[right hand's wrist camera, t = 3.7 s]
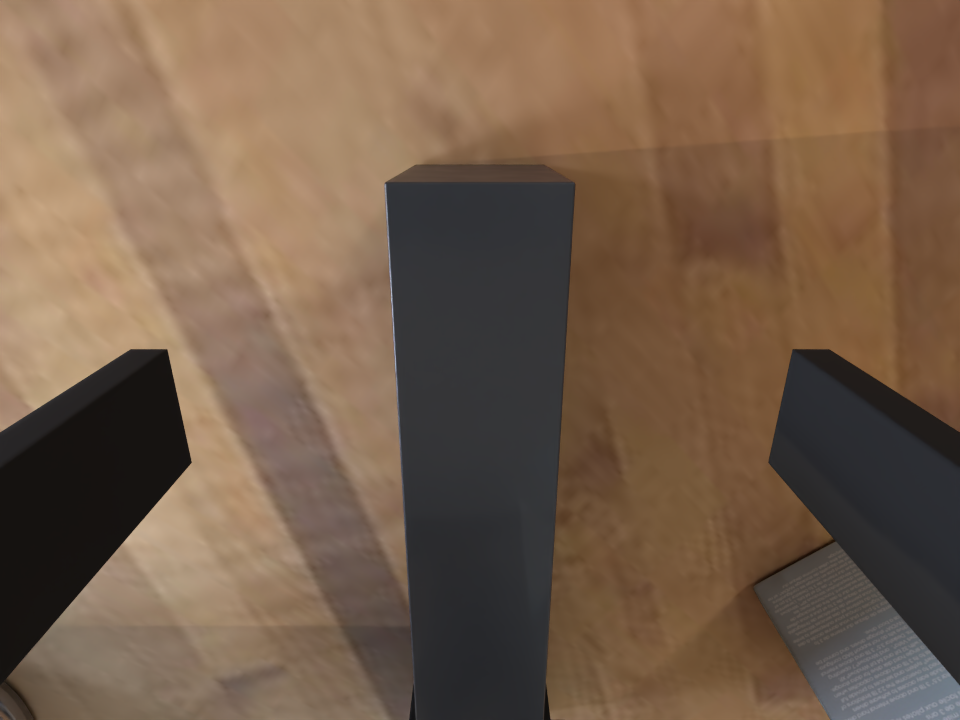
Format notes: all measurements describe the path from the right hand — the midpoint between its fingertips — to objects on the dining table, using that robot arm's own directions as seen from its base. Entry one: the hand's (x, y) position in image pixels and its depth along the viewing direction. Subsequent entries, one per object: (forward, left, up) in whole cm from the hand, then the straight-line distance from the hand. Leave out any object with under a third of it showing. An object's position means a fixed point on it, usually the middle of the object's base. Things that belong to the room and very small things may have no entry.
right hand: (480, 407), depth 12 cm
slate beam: (0, -14, -17) cm, 22 cm away
